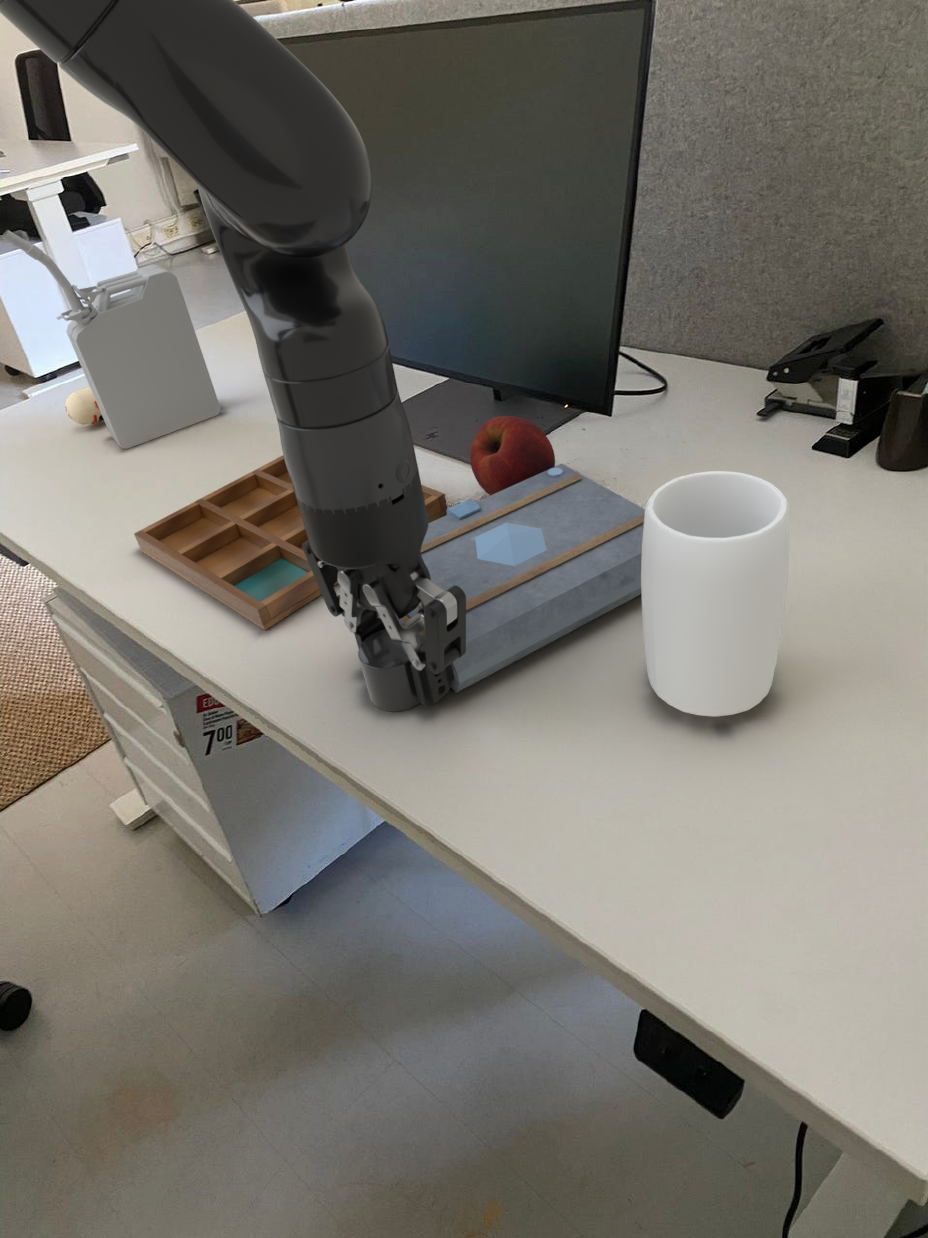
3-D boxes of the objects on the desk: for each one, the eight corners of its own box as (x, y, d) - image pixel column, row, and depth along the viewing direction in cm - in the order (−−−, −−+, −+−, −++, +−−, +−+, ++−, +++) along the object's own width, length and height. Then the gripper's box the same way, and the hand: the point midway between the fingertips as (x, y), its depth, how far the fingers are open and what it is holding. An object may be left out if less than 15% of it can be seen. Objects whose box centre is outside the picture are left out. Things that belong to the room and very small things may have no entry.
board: (265, 630, 70) (257, 610, 69) (141, 552, 83) (133, 533, 82) (448, 512, 81) (444, 493, 79) (313, 459, 93) (308, 441, 92)
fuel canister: (101, 459, 101) (1, 233, 86) (90, 446, 105) (-7, 227, 90) (223, 414, 107) (149, 194, 92) (209, 402, 110) (136, 189, 95)
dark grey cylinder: (396, 721, 60) (385, 677, 57) (357, 694, 62) (345, 651, 60) (443, 686, 62) (434, 642, 59) (403, 661, 65) (393, 619, 62)
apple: (461, 496, 83) (448, 418, 78) (529, 468, 85) (521, 390, 80) (502, 527, 77) (491, 446, 72) (574, 496, 80) (568, 415, 75)
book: (463, 704, 60) (452, 648, 57) (358, 598, 72) (344, 547, 69) (691, 580, 67) (693, 525, 64) (562, 502, 79) (558, 453, 76)
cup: (804, 702, 56) (830, 512, 47) (693, 753, 54) (698, 564, 45) (722, 632, 62) (731, 453, 53) (619, 674, 60) (612, 496, 51)
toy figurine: (155, 407, 117) (70, 437, 111) (139, 375, 116) (52, 404, 110) (174, 393, 111) (84, 424, 105) (157, 358, 110) (65, 388, 103)
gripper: (236, 469, 54) (305, 671, 65) (386, 536, 46) (438, 759, 56) (329, 421, 58) (380, 619, 68) (484, 474, 49) (516, 693, 60)
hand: (406, 681), depth 62 cm, fingers open, 5 cm apart
